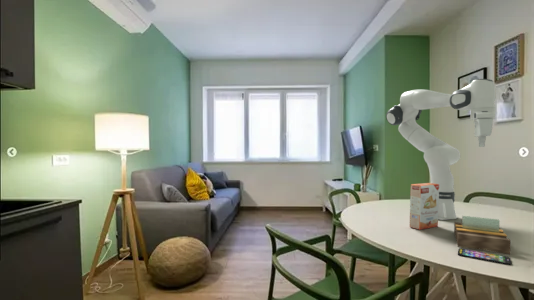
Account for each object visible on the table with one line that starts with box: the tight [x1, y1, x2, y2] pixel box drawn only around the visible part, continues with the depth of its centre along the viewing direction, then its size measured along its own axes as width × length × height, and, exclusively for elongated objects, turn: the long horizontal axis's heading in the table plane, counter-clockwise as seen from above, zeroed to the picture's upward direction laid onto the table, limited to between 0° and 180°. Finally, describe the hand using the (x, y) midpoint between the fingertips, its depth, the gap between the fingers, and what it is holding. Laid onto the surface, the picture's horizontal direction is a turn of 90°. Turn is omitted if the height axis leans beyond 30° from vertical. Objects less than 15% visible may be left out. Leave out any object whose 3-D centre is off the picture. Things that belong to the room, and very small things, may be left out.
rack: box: [453, 221, 511, 255], centre depth 119 cm, size 16×20×5 cm
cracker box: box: [409, 182, 439, 231], centre depth 141 cm, size 14×6×21 cm, turn 118°
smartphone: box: [457, 247, 512, 266], centre depth 104 cm, size 8×1×15 cm
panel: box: [461, 215, 501, 233], centre depth 119 cm, size 12×2×9 cm, turn 61°
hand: (481, 146), depth 129 cm, fingers closed
